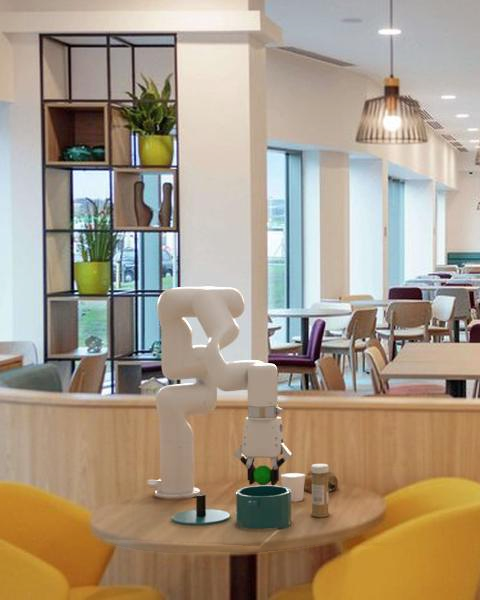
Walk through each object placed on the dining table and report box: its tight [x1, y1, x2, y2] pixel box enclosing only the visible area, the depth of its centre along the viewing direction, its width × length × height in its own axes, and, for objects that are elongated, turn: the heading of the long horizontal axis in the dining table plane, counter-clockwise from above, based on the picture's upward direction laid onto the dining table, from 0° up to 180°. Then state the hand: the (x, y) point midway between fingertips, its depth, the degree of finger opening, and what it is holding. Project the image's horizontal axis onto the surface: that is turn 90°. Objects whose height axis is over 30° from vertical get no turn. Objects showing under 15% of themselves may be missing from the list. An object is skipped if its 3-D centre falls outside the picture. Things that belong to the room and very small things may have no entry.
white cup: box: [280, 472, 306, 503], centre depth 298 cm, size 7×7×7 cm
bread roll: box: [304, 469, 339, 493], centre depth 311 cm, size 10×10×8 cm
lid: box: [171, 493, 231, 526], centre depth 274 cm, size 15×15×7 cm
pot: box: [235, 484, 292, 530], centre depth 270 cm, size 14×19×8 cm
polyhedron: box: [253, 464, 272, 486], centre depth 270 cm, size 5×5×5 cm
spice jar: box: [310, 463, 330, 518], centre depth 279 cm, size 5×5×14 cm
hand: (263, 482), depth 270 cm, fingers closed on polyhedron, 5 cm apart
